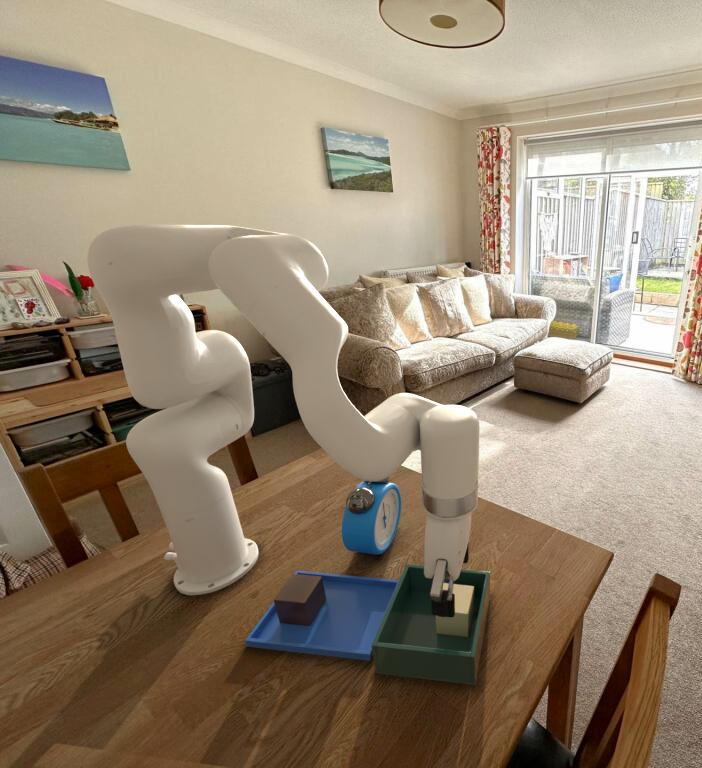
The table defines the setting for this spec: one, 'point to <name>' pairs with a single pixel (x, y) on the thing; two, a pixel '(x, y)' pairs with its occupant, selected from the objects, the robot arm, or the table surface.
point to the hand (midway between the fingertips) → (451, 585)
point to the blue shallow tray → (332, 619)
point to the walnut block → (300, 600)
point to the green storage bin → (429, 631)
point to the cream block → (458, 612)
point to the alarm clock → (371, 517)
